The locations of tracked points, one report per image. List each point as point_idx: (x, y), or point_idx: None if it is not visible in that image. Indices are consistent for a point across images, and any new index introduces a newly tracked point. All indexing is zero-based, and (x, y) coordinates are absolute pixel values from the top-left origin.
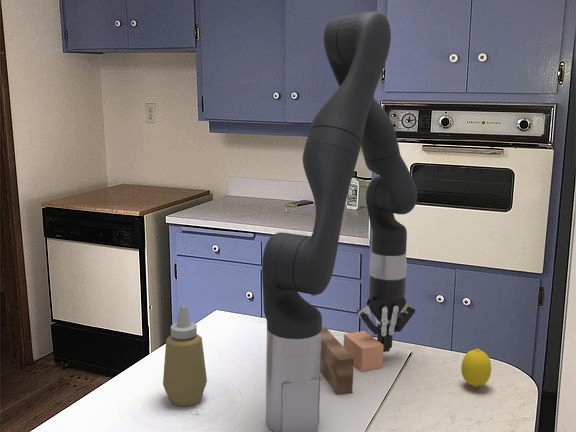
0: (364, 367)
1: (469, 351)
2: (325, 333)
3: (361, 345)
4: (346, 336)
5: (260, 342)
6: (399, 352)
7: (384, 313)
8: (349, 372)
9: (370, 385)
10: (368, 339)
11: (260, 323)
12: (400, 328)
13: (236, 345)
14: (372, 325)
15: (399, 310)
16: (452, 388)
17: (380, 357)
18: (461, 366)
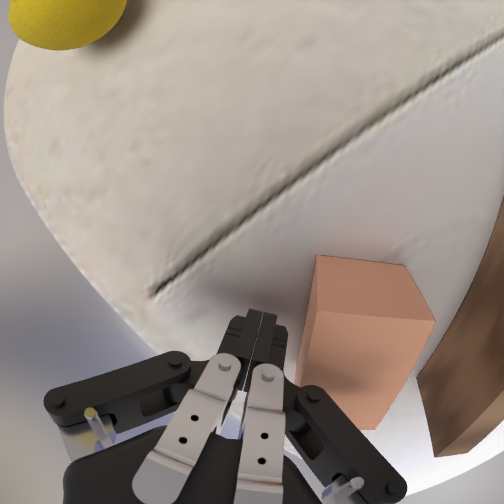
0: (398, 270)
1: (32, 6)
2: (483, 424)
3: (410, 348)
4: (381, 417)
5: None
6: (186, 312)
7: (263, 487)
8: None
9: (446, 163)
10: (335, 378)
11: None
12: (166, 362)
13: None
14: (336, 432)
15: (129, 454)
16: (175, 18)
17: (331, 277)
18: (96, 13)
